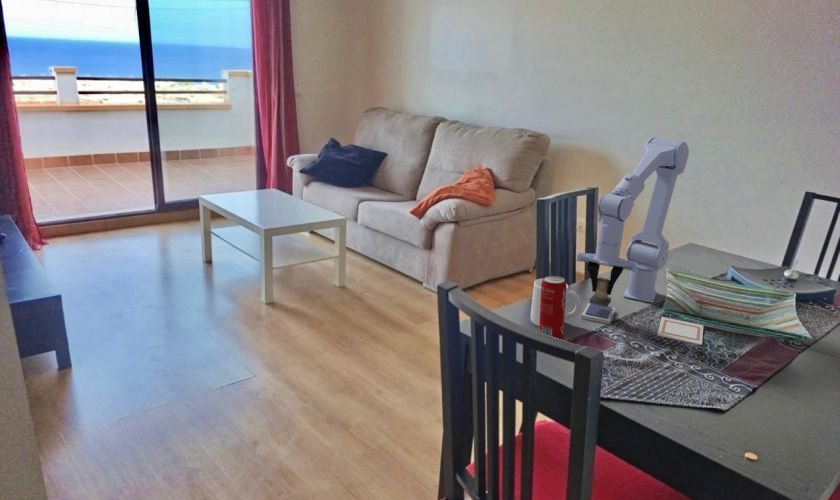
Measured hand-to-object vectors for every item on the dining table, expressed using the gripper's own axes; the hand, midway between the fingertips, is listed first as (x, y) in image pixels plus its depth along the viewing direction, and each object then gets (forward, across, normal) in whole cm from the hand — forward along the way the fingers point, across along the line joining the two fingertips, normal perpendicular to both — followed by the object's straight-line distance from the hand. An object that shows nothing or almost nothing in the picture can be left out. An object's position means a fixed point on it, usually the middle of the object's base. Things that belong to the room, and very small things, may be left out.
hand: (601, 292), depth 156 cm
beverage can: (+7, -8, -20) cm, 23 cm away
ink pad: (+6, 0, 0) cm, 6 cm away
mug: (+7, -9, -11) cm, 16 cm away
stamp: (+3, 0, 0) cm, 3 cm away
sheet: (+6, +20, +1) cm, 21 cm away
